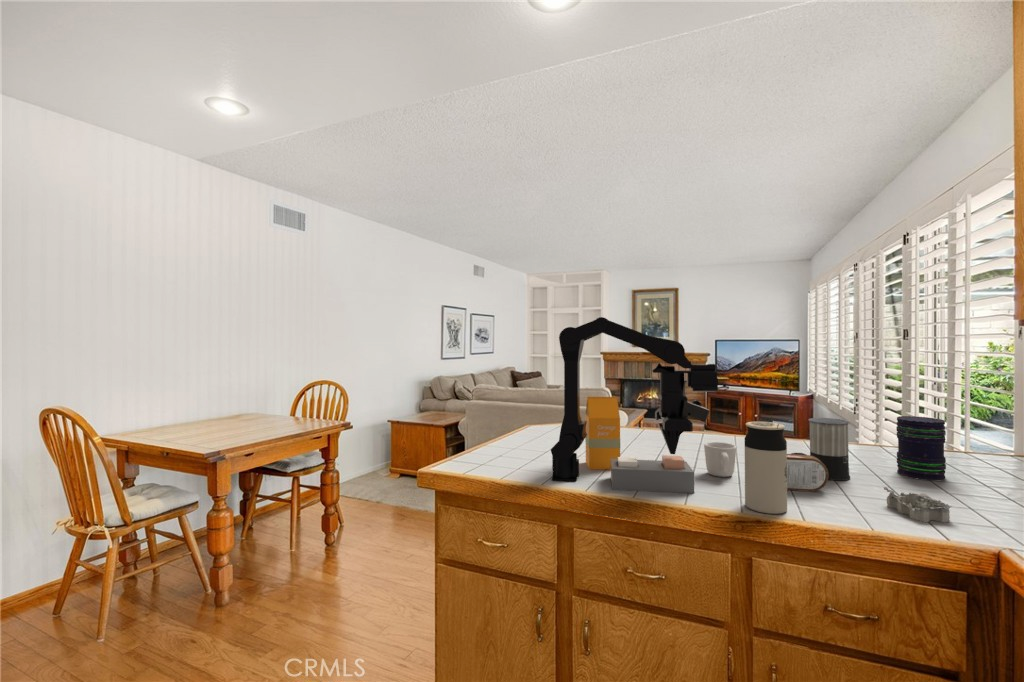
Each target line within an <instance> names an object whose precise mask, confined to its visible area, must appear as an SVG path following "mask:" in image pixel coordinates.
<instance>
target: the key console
mask: <svg viewBox="0 0 1024 682" xmlns="http://www.w3.org/2000/svg"><path fill="white" fill-rule="evenodd" d="M637 462H638V467H619V466H618V459H611V469H610V482H611V489H612V490H618V491H619V490H620V491H638V492H641V491H643V492H659V493H660V492H661V493H663V492H664V493H678V494H679V493H681V494H682V493H683V494H695V471H694V470H693V468H692V467H691V466H690V464H689V463H688V462H687V461H686V460H684V469H670V468H663V466H662V460H658V459H657V460H653V459H637Z"/></svg>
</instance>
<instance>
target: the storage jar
mask: <svg viewBox="0 0 1024 682" xmlns="http://www.w3.org/2000/svg"><path fill="white" fill-rule="evenodd" d="M896 421H897V422H896V439H897V445H898V446H897V450H898V451H896V463H897V465H896V466H897V474H898V475H900V474H901V476H903V477H906V476H907V477H906V478H910V477H911V479H915V478H918V479H917V480H921V479H924V480H923V481H931V480H941V481H945V480H946V475H945V474H946V468H947V464H946V461H947V459H946V457H945V443H946V434H947V432H946V426H945V424H946V420H943V419H940V418H934V417H927V416H914V415H913V416H912V415H911V416H909V415H902V416H897V417H896ZM944 479H945V480H944Z"/></svg>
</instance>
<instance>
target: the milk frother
mask: <svg viewBox="0 0 1024 682" xmlns="http://www.w3.org/2000/svg"><path fill="white" fill-rule="evenodd" d="M807 420H808V422H809V455H811V456H814V457H816V458H818V459H819V460H820V461H821V462H822V463H823V464H824V465H825V466H826V468H827V470H828V475H829V476H828V480H830V481H848V480H850V479H851V476H850V464H849V463H850V462H849V458H850V457H849V424H850V421H848V420H845V419H841V418H831V417H830V418H829V417H811V418H808V419H807ZM790 454H797V455H807V454H806V453H803V452H792V453H790Z"/></svg>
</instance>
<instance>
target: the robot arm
mask: <svg viewBox="0 0 1024 682" xmlns="http://www.w3.org/2000/svg"><path fill="white" fill-rule="evenodd" d="M601 334H605V335H607V336H610V337H613V338H615V339H617V340H620V341H623V342H625V343H628V344H630V345H633V346H636V347H638V348H641V349H643V350H645V351H647V352H648V353H650V354H651V355H653V356H655V357H656V358H658V359H659V360H662V361H663V362H664V363H665V364H666V363H667V364H669V365H665V366H664V365H662V364H661V363H659V362H657V365H656V366H655V367H654V368H652V373H654V374H659V380H660V381H659V384H660V385H659V390H660V391H659V394H658V399H660V402H659V403H660V405H659V406H660V407H659V408H657V409H656V410H655V412H654V419H655V420H656V421H659V419H660V420H661V422H658V424H657V425H658V427H659V429H660V431H661V434H662V437H663V439H664V441H665V444H666V447H667V449H668V451H669V454H670V455H676V452H677V448H678V444H679V442H680V441H679V440H680V436H681V434H683V433H684V432H687V433H688V432H693V431H694V430H693V428H694V426H693V422H692V421H691V420H690V419H689V417H691V418H694V419H697V420H700V422H702V423H706V422H707V420H708V416H709V414H710V412H711V410H710V409H708V408H706V407H704V406H702V402H701V401H699V400H697V399H693V400H692V401H688V396H686V395H685V374H686V387H687V388H690V389H691V391H692V392H700V393H701V392H702V393H717V392H718V387H719V378H718V373H717V365H716V364H715V363H708V364H692V361H691V360H689V359H688V358H687V357H686V354H685V353H686V351H685V350H686V349H685V348H684V345H683V344H682V343H681V342H679V341H676V340H674V339H673V340H672V339H667V338H662V337H657V336H651V335H648V334H646V333H643V332H641V331H638V330H636V329H632V328H630V327H627V326H624V325H621V324H619V323H616V322H614V321H612V320H608V318H606V317H603V316H600V317H597V318H596V319H594V320H592V321H588V322H587V323H584V324H581V325H578V326H575V327H572V326H568V327H565V328H564V329H562V330H561V331H560V333H559V335H558V338H559V339H558V340H559V341H558V342H559V347H560V352H561V356H562V359H563V364H564V367H563V369H564V371H563V373H564V374H563V375H564V376H563V379H564V382H563V383H564V384H563V385H564V386H563V387H564V388H563V391H564V392H563V393H564V398H563V400H564V402H563V406H564V407H563V410H564V411H563V413H564V415H563V419H562V423H561V427H560V431H559V432H560V433H559V437H558V440H557V442H556V443H555V444H554V445H553V446H552V447H551V449H550V452H551V455H552V456H551V457H552V460H551V461H552V465H551V466H552V475H551V481H562V482H563V481H567V482H577V481H578V478H579V476H580V459H579V458H578V457H577V456H578V454H577V452H576V451H577V450H578V449H580V447H581V445H583V443H584V440H585V438H586V436H587V433H586V424H587V421H586V420H582V417H581V414H580V413H581V412H580V405H581V402H580V401H581V400H580V395H581V394H580V393H581V391H580V390H581V388H580V387H581V386H580V385H581V384H580V381H581V380H580V379H581V376H580V374H581V373H580V372H581V371H580V370H581V369H580V367H581V362H580V361H581V358H582V353H583V352H584V351H583V349H584V344H585V341H588V340H590V339H592V338H594V337H596V336H598V335H601ZM675 364H676V365H678V366H679V367H681V368H683V370H681V369H676V367H675ZM684 369H685V370H684ZM686 369H687V370H686ZM688 369H689V370H688Z"/></svg>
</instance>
